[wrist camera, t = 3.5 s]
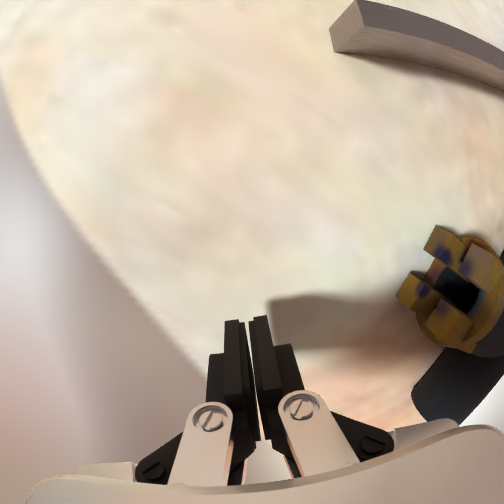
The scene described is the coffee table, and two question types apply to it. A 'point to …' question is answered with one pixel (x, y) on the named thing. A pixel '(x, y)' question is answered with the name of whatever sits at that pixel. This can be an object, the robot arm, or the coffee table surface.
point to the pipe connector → (458, 324)
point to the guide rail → (416, 41)
